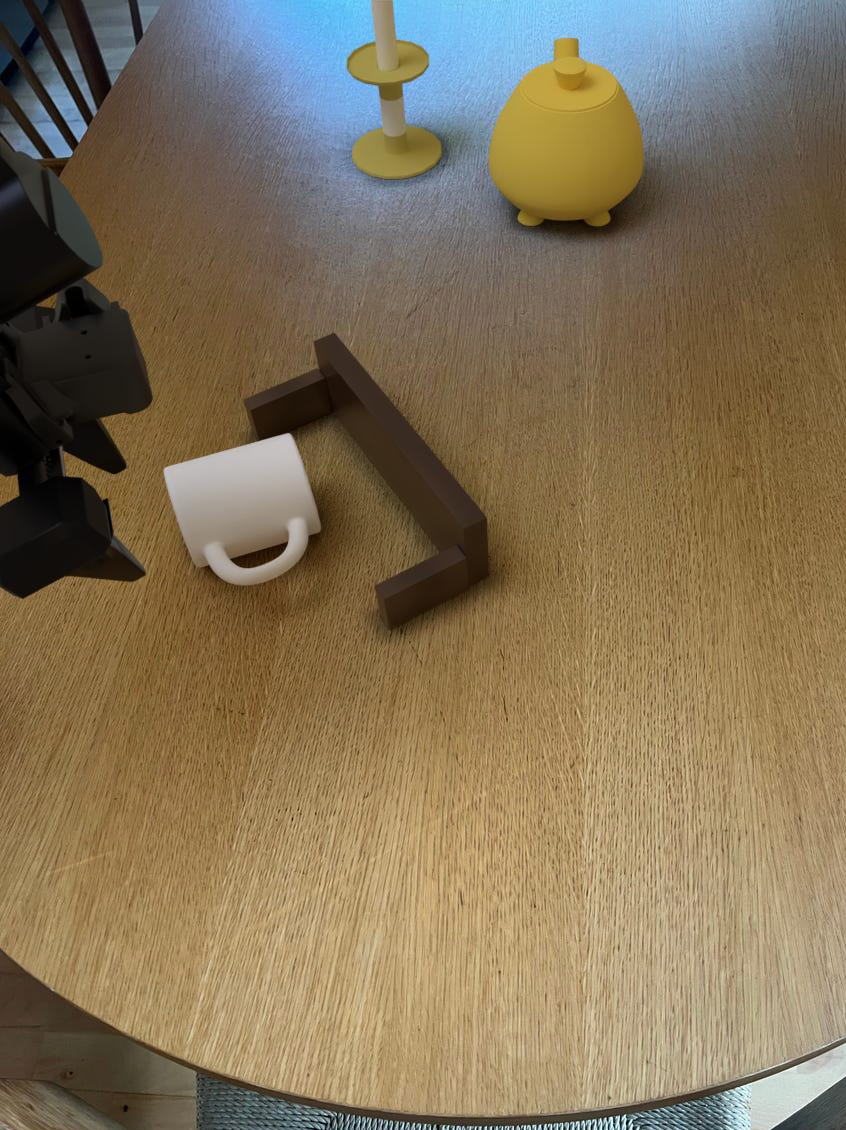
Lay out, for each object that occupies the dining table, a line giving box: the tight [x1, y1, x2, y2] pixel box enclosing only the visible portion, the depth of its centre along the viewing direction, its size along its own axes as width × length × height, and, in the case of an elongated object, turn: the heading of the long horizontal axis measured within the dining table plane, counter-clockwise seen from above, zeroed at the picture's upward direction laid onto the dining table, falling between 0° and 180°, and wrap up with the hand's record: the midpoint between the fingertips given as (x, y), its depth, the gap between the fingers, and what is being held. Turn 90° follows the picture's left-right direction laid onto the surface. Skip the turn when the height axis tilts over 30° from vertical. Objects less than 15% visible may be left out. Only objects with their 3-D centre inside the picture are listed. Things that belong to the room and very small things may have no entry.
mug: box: [163, 432, 322, 586], centre depth 77 cm, size 12×10×8 cm
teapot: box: [488, 37, 645, 227], centre depth 101 cm, size 20×16×14 cm
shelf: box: [242, 332, 490, 631], centre depth 80 cm, size 9×24×7 cm, turn 32°
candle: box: [346, 0, 443, 180], centre depth 100 cm, size 10×10×27 cm
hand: (129, 521), depth 64 cm, fingers open, 9 cm apart
